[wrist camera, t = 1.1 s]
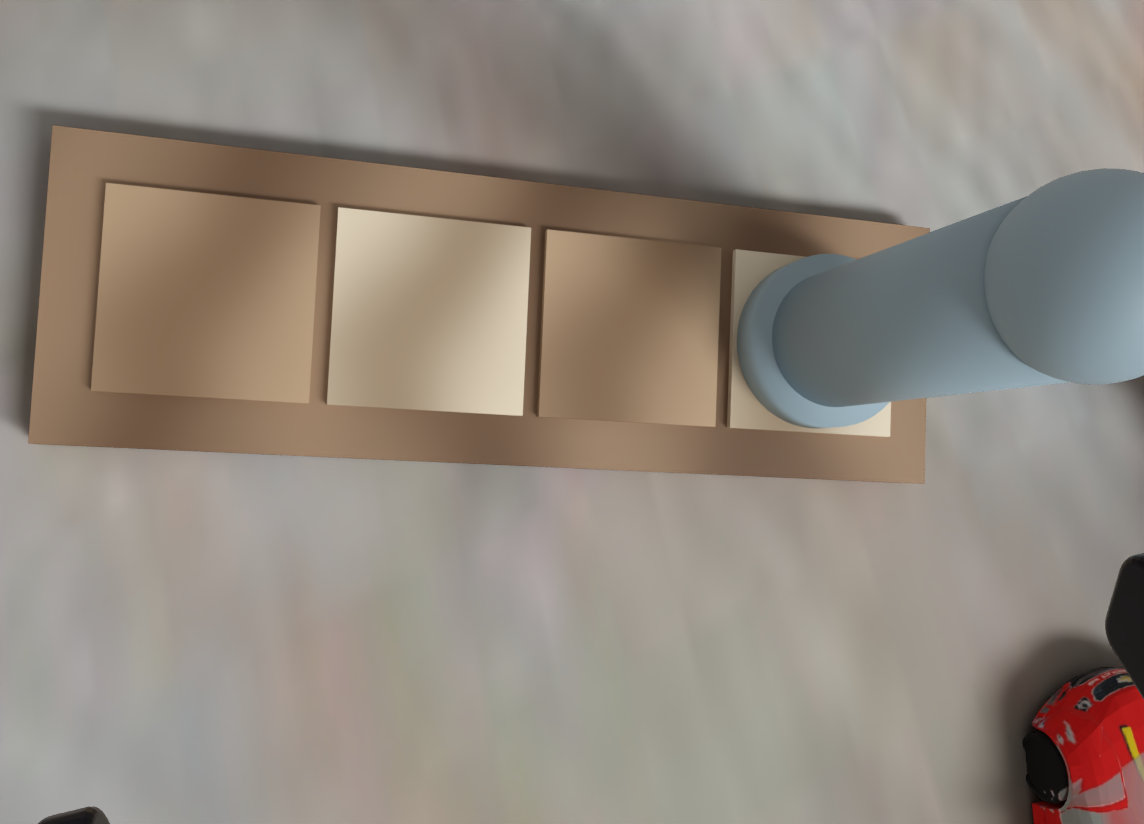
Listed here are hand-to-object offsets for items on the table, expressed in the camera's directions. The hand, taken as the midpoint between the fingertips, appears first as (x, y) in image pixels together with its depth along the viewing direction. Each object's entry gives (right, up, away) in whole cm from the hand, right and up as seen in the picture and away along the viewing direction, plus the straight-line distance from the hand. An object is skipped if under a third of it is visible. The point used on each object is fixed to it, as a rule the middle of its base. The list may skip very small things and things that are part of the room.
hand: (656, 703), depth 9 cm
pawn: (+6, +4, +18) cm, 19 cm away
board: (-2, +5, +17) cm, 18 cm away
